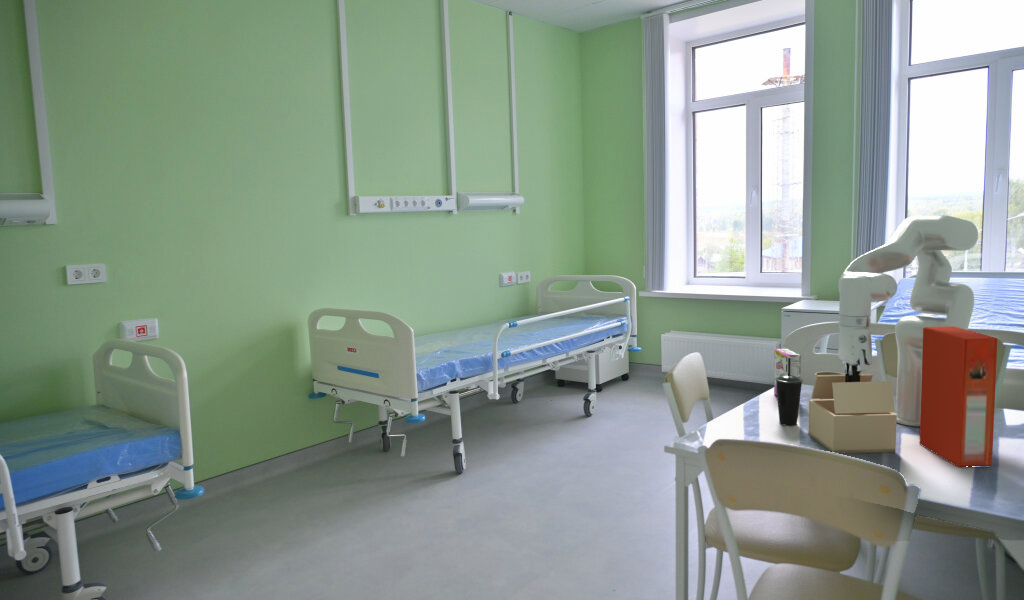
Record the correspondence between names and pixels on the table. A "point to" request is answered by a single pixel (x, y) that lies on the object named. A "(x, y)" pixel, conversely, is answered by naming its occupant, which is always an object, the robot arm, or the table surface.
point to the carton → (851, 429)
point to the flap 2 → (863, 397)
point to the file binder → (958, 395)
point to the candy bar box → (785, 364)
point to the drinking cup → (788, 397)
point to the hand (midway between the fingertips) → (852, 388)
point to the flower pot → (828, 374)
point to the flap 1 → (825, 387)
